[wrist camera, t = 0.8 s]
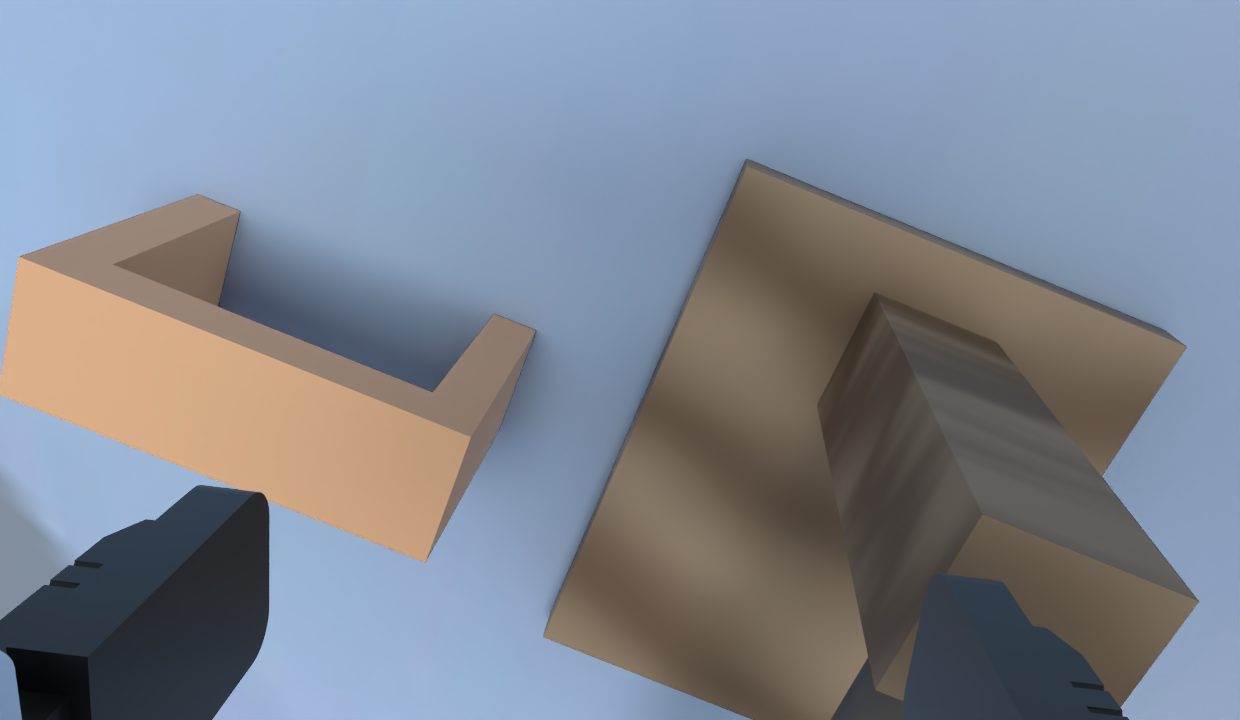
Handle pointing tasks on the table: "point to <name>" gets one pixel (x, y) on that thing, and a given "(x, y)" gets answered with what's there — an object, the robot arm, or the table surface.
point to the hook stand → (867, 467)
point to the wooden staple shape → (246, 381)
